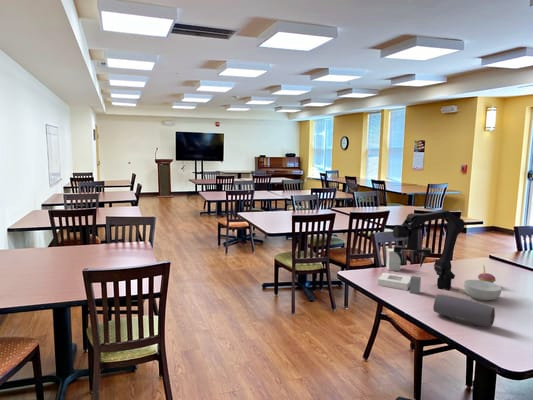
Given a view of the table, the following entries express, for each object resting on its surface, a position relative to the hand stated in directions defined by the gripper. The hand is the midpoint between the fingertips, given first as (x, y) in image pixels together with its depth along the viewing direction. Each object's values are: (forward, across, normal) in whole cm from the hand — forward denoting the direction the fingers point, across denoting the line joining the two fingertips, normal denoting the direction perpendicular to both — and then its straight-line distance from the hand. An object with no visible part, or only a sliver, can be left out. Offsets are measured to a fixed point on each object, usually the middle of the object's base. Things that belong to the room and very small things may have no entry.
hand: (411, 265), depth 209 cm
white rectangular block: (+14, +11, -37) cm, 41 cm away
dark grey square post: (+13, -2, +4) cm, 14 cm away
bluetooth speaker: (+14, -22, +35) cm, 43 cm away
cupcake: (+14, -40, -24) cm, 48 cm away
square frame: (+13, +8, -6) cm, 17 cm away
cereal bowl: (+14, -34, -1) cm, 37 cm away
